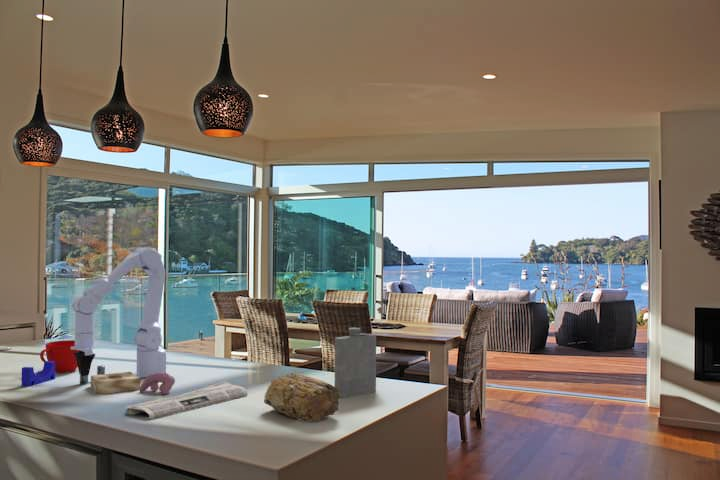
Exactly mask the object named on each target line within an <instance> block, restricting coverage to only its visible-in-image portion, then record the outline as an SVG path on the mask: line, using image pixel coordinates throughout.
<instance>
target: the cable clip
mask: <svg viewBox="0 0 720 480" xmlns="http://www.w3.org/2000/svg"><path fill="white" fill-rule="evenodd" d="M34 370H35V368H34V366H23V367H21V387H28V386H30V387H33V385H34V386H37V385H39V384H42V383H47V382H51V381H53V380H55V379H56V372H55V362H53V361H48V360H46V362H43V368H42V370H39V371H37V372H36V373H35V371H34Z"/></svg>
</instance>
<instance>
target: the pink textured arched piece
mask: <svg viewBox="0 0 720 480" xmlns="http://www.w3.org/2000/svg"><path fill="white" fill-rule="evenodd" d="M159 383H161V384H160V385H159ZM175 383H176V379H175V377H174V376H172V375H171V374H170V373H167V372H166V373H162V372H157V373H153V374H152V373H150V374H149V375H148V376H147V377H145V379H144V380H143V382H142V383H140V389H139V392H140V394H141V393H144V392H145V391H147V389H149V388H150V390H151V391H152V392H157V391H158V390H159V391H160V392H162V394H163V395H164V396H165V395H168V393H170V391H171V390H172V389H173V388H172V387H173V386H175V385H174V384H175Z"/></svg>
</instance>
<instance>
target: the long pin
mask: <svg viewBox="0 0 720 480" xmlns="http://www.w3.org/2000/svg"><path fill="white" fill-rule="evenodd" d="M88 381H89V375H87V376H81V373H80V374H79V385H81V386H83V385H88V384H89V382H88Z"/></svg>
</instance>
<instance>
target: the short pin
mask: <svg viewBox="0 0 720 480" xmlns="http://www.w3.org/2000/svg"><path fill="white" fill-rule="evenodd" d="M103 374H106V366H105V365H97V367H96V375H103Z"/></svg>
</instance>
